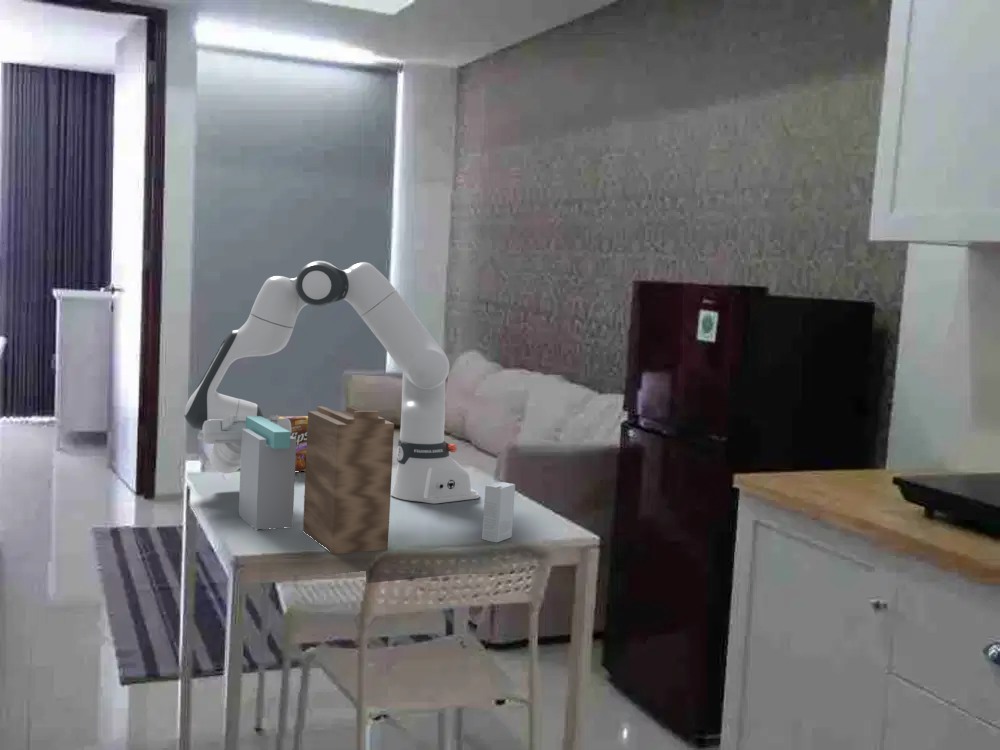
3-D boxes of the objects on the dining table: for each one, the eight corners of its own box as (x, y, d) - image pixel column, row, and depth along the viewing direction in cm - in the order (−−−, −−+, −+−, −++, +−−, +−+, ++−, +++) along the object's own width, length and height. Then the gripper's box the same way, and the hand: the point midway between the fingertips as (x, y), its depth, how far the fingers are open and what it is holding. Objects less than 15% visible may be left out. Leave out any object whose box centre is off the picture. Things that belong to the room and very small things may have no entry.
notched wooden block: (355, 528, 226) (361, 399, 223) (387, 549, 211) (394, 411, 208) (302, 531, 220) (308, 399, 218) (331, 554, 205) (338, 411, 202)
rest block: (273, 512, 235) (276, 428, 234) (292, 527, 223) (296, 438, 221) (238, 514, 232) (241, 428, 230) (256, 530, 219) (259, 439, 217)
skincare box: (495, 534, 228) (498, 480, 227) (512, 538, 226) (516, 483, 224) (480, 539, 223) (483, 484, 221) (498, 543, 220) (501, 488, 219)
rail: (260, 431, 237) (261, 416, 237) (289, 448, 218) (290, 431, 218) (245, 431, 235) (246, 416, 235) (273, 448, 216) (274, 432, 216)
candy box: (278, 474, 278) (280, 418, 277) (272, 471, 282) (274, 415, 280) (309, 472, 283) (311, 417, 282) (303, 469, 287) (305, 415, 285)
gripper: (194, 427, 241) (207, 405, 230) (279, 426, 252) (296, 404, 241) (196, 453, 239) (210, 432, 228) (282, 450, 249) (299, 430, 238)
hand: (255, 418), depth 234 cm, fingers open, 8 cm apart
